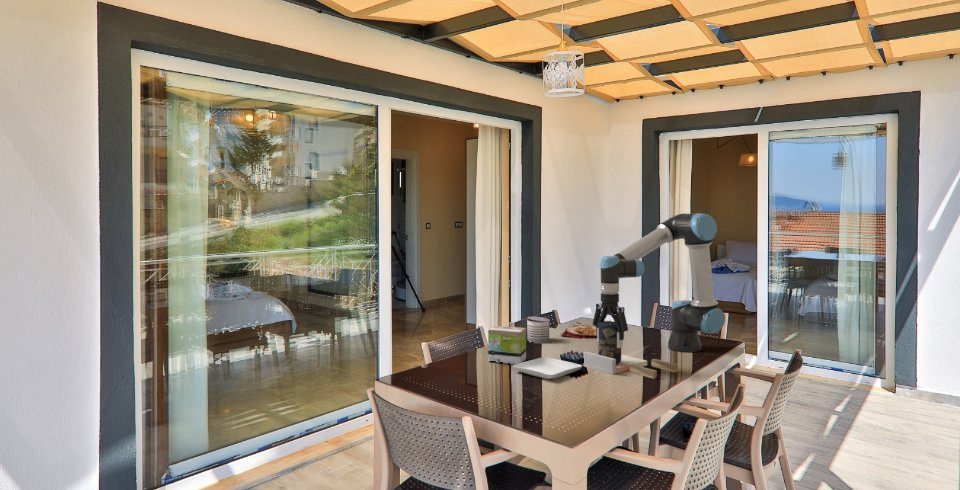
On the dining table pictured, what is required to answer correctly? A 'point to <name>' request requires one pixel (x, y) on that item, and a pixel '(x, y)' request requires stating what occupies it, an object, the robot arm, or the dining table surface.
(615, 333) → the canister
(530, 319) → the can
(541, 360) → the salad plate
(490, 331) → the tea box
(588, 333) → the plate with food
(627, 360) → the board
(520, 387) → the dining table surface
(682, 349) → the robot arm
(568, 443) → the dining table surface
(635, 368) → the rails
